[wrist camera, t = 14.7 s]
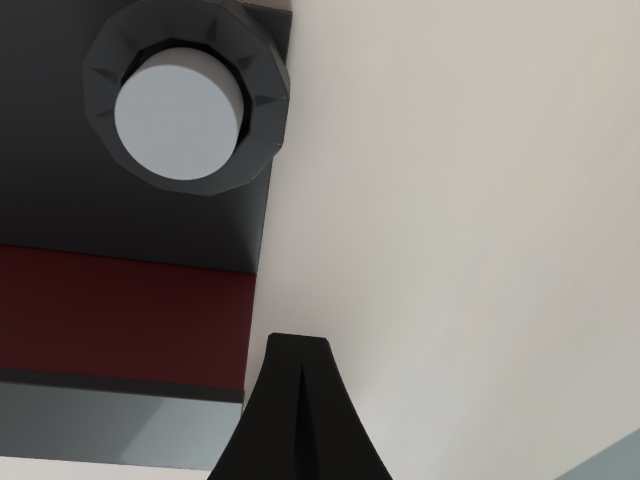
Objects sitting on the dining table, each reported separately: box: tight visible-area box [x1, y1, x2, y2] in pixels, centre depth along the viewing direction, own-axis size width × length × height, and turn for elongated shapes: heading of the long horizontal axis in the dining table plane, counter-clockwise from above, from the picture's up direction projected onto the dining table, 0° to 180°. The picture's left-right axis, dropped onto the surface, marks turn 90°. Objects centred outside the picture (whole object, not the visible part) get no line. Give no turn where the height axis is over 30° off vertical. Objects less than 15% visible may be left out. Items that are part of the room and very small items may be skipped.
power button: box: [114, 47, 244, 180], centre depth 16 cm, size 4×4×2 cm
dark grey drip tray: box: [0, 0, 292, 274], centre depth 18 cm, size 11×14×3 cm
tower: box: [0, 244, 257, 471], centre depth 20 cm, size 5×14×8 cm, turn 80°
